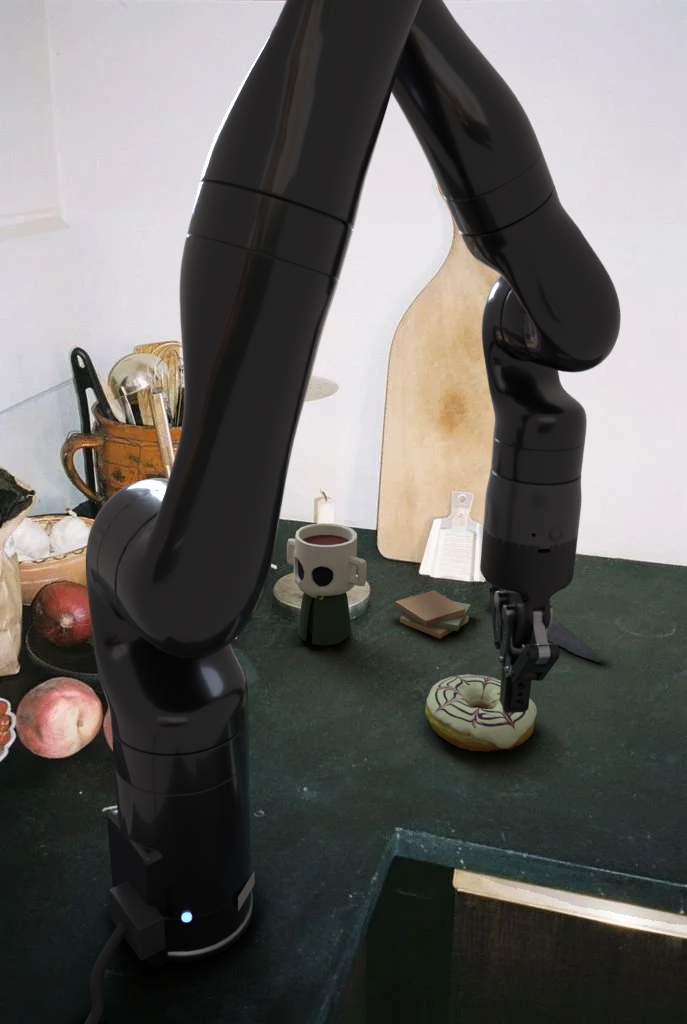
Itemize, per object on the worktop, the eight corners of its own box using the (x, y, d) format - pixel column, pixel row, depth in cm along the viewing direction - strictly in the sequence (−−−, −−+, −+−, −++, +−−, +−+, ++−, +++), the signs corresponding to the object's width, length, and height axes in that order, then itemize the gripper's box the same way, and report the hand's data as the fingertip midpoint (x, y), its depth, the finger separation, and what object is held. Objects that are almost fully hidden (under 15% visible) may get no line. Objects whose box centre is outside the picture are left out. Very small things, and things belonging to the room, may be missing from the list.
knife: (487, 595, 117) (521, 578, 118) (489, 608, 118) (522, 592, 119) (566, 670, 103) (604, 651, 105) (568, 685, 105) (605, 666, 106)
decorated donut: (524, 770, 87) (527, 736, 85) (412, 745, 90) (414, 712, 89) (540, 711, 96) (544, 679, 95) (439, 690, 99) (441, 659, 98)
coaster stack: (442, 646, 108) (443, 627, 108) (386, 622, 113) (387, 605, 113) (483, 621, 114) (485, 603, 114) (429, 600, 119) (430, 583, 119)
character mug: (269, 634, 110) (268, 532, 105) (305, 612, 115) (305, 514, 111) (345, 663, 104) (348, 556, 100) (379, 638, 110) (384, 535, 105)
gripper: (465, 496, 81) (454, 670, 87) (507, 559, 69) (490, 756, 75) (550, 493, 82) (533, 666, 88) (606, 555, 69) (581, 751, 76)
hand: (513, 707), depth 81 cm, fingers closed
